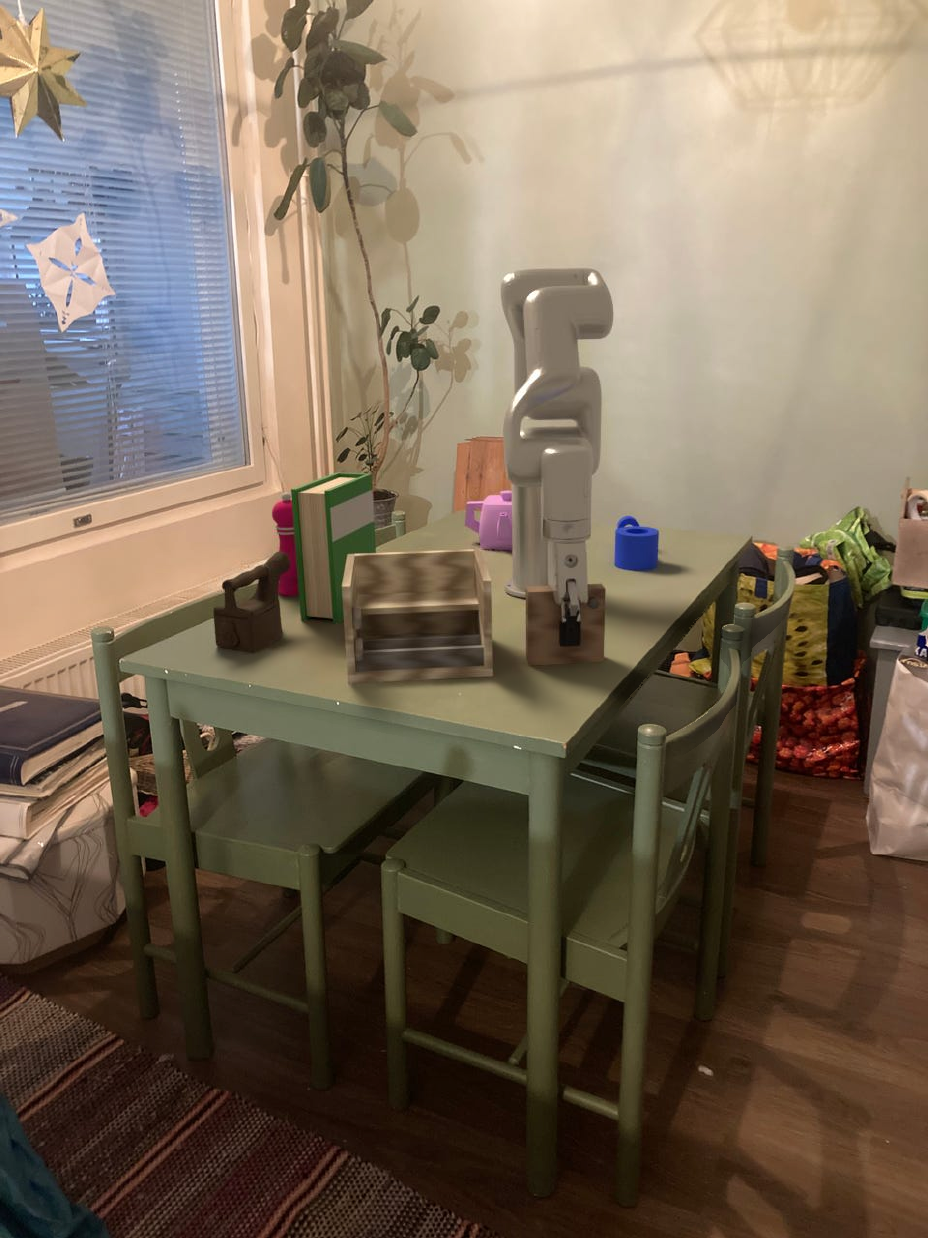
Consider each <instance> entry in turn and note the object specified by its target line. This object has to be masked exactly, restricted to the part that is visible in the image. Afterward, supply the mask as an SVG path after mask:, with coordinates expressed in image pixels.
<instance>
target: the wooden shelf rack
mask: <svg viewBox="0 0 928 1238" xmlns="http://www.w3.org/2000/svg"><path fill="white" fill-rule="evenodd" d="M492 591H493V590H492V579H491V576H490V572H489V570H488V567H487V564H486V561H485V558H484V555H483V552H482V548H474V549H473V548H468V549H449V550H446V549H445V550H443V549H442V550H419V551H418V550H417V551H395V552H390V551H389V552H376V553H363V554H348V555H347V561H346V566H345V572H344V577H343V583H342V597H343V612H344V620H343V625H344V641H345V642H344V643H345V655H346V656H345V657H346V658H345V659H346V670H347V671H346V672H347V683H348V684H353V683H354V684H355V683H356V684H357V683H358V684H359V683H376V682H395V681H398V682H399V681H417V680H418V681H420V680H421V681H422V680H438V679H439V680H441V679H442V680H443V679H444V680H445V679H462V678H464V679H465V678H483V677H486V678H487V677H494V674H493V672H494V671H493V668H494V667H493V664H494V663H493V662H494V661H493V610H492V609H493V607H492V605H493V604H492V603H493V602H492V600H493V598H492Z"/></svg>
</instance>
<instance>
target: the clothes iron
mask: <svg viewBox="0 0 928 1238" xmlns="http://www.w3.org/2000/svg"><path fill="white" fill-rule="evenodd" d="M289 568H290V559H289V557H288V556H287V555H286V554H285V553H284V552H280V551H279V550H278V551H277V552H275V553H274V554H273V555H272V556H271V557H269V558H268V559H267V560H266V561H265V562H264V564H263V565H262V564H261V565H260V564H258V565H257V566H255V567H254V568H252V569H250V570H246V571H244V572H242V573H240V574H238V575H237V576H235V577H233V578H230V579H226V580H224V581H222V584H221V589H222V590H224V605H223V606H221V605H219V606H218V605H217V606H215V607H213V612H212V613H213V622H214V623H213V624H214V625H213V627H214V635H215V636H214V638H215V644H216V646H217V647H218V648H224V649H228V650H229V649H231V650H235V649H236V650H237V651H242V652H248V651H249V653H257V652H260V651H261V649H262V650H264V649H265V648H267V647H268V646H271V645H272V644H273V643H275V642H276V641H277V640H279V638H280V637H281V636H282V634H283V626H282V617H281V605H280V604H281V603H280V599H279V593H278V587H279V582H280V581H279V580H280V577H281V575H282V573H285V572H287V571H288V570H289ZM256 581H257V585H256V590H255V592H254V593H253V595H252V596H251V597H250V598H247V599H244V600H241V601H237V602H236V598H235V597H236V596H235V592H236V591H237V590H239V589H243V588H246V587H248V586H250V585H252V584H253V583H255V582H256ZM259 650H260V651H259Z"/></svg>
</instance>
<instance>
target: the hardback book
mask: <svg viewBox="0 0 928 1238" xmlns="http://www.w3.org/2000/svg"><path fill="white" fill-rule="evenodd" d="M373 488H374V487H373V473H365V472H362V473H361V472H360V473H359V472H341V471H340V472H339V471H338V472H334V473H331V474H329V475H328V474H327V475H325V476H322V477H321V478H317V479H314V480H312V481H310V482H307V483H304V484H301V485H299V486H296V487H293V488H291V489H290V493H291V494H290V495H291V500H292V510H293V523H294V535H295V548H296V561H297V574H298V586H299V595H298V597H299V609H300V620H301V621H305V620H306V621H307V620H310V618H313V617H315V618H322V619H323V618H324V619H325V618H326V619H332V624H336V623H337V624H338V625H339V624H340V623H341V622H343V621H344V612H343V597H342V583H343V577H344V572H345V566H346V561H347V555H348V554H363V553H377V544H376V542H377V541H376V527H375V526H376V525H375V505H374V489H373ZM339 622H340V623H339Z"/></svg>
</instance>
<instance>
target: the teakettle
mask: <svg viewBox="0 0 928 1238" xmlns="http://www.w3.org/2000/svg"><path fill="white" fill-rule="evenodd" d="M499 493H500V494H490V495H487V497H486V498H484V499H483V500H481V501H479V500H477V501H475V500H474V501H467V502H466V507H465V515H464V517H465V518H464V526H465V527H466V528H468V529H470V530H472V531H473V532H475V533H477V534H478V540H479V543H480V549H481V550H486V549H489V550H488V551H490V550H491V551H494V550H495V551H496V550H497V551H512V490H501V491H499ZM475 509H480V510H481V512H480V519H479V521H478V520H477V519H475ZM492 549H494V550H492Z"/></svg>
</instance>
